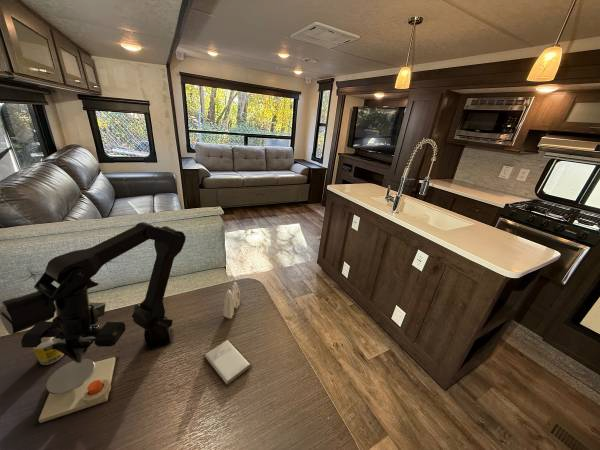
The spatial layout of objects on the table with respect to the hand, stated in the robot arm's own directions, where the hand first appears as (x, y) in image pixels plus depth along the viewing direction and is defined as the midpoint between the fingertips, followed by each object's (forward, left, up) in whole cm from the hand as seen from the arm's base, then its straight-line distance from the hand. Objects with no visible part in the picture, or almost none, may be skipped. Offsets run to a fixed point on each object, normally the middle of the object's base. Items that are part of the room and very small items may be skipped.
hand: (80, 361), depth 62 cm
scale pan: (+4, -4, -8) cm, 10 cm away
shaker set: (-41, -17, -11) cm, 46 cm away
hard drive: (-35, +5, -11) cm, 37 cm away
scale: (+2, -2, -11) cm, 12 cm away
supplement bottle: (+12, -16, -11) cm, 23 cm away
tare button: (-2, +2, -9) cm, 9 cm away
